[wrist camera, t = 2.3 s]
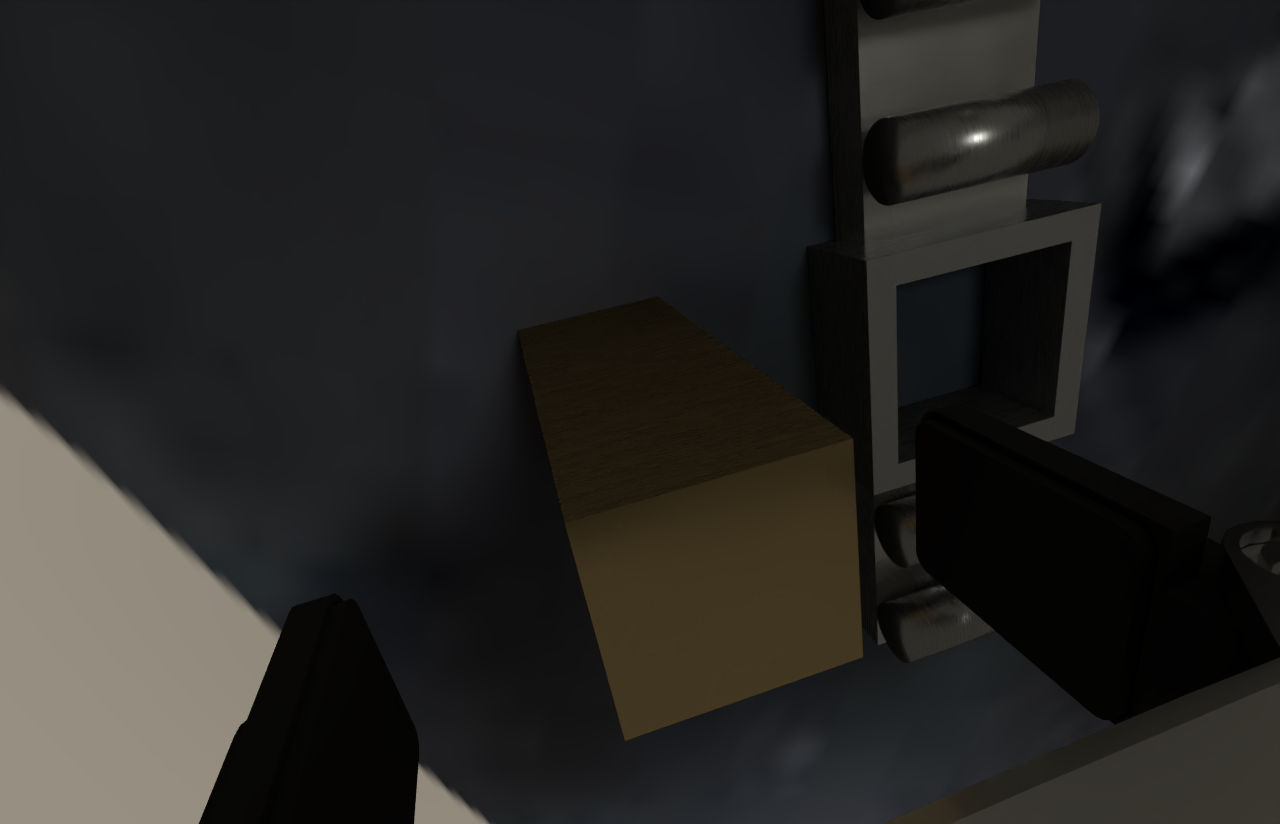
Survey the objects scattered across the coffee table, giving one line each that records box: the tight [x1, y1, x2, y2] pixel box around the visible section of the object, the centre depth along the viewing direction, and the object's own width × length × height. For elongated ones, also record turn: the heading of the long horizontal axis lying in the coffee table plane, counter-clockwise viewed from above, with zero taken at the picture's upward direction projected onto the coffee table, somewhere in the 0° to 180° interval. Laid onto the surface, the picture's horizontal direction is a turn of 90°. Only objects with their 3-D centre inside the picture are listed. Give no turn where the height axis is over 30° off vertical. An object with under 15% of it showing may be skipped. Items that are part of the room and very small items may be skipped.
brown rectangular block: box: [518, 297, 863, 741], centre depth 13 cm, size 4×4×10 cm
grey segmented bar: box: [808, 0, 1101, 663], centre depth 18 cm, size 7×22×4 cm, turn 11°
